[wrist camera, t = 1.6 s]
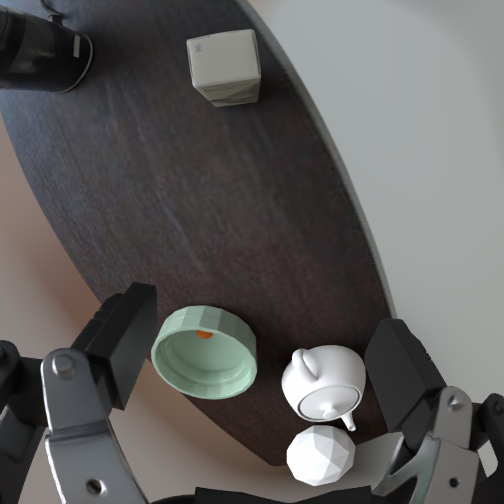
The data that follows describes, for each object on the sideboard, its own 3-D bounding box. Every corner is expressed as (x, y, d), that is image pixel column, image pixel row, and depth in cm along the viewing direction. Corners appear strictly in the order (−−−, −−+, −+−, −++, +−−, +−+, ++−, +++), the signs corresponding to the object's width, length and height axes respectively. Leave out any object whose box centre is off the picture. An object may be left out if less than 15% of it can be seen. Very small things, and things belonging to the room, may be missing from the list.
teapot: (253, 347, 42) (251, 401, 32) (332, 306, 39) (351, 357, 29) (314, 409, 49) (320, 453, 39) (376, 381, 46) (392, 424, 36)
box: (215, 108, 29) (188, 90, 17) (210, 74, 27) (182, 39, 15) (261, 101, 29) (262, 78, 17) (256, 67, 27) (254, 26, 15)
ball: (193, 323, 40) (190, 334, 37) (205, 314, 39) (202, 325, 37) (206, 334, 41) (204, 345, 38) (218, 325, 40) (216, 336, 37)
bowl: (144, 336, 42) (133, 358, 37) (204, 284, 38) (197, 306, 33) (211, 385, 46) (207, 409, 41) (277, 347, 42) (278, 372, 37)
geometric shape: (298, 417, 58) (260, 457, 46) (348, 406, 48) (313, 456, 37) (325, 454, 55) (293, 495, 43) (375, 447, 45) (347, 498, 34)
